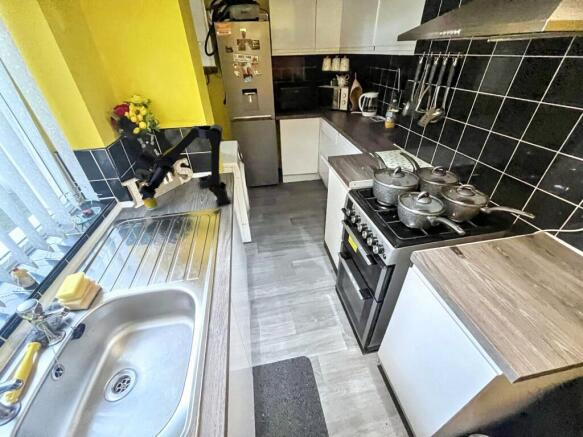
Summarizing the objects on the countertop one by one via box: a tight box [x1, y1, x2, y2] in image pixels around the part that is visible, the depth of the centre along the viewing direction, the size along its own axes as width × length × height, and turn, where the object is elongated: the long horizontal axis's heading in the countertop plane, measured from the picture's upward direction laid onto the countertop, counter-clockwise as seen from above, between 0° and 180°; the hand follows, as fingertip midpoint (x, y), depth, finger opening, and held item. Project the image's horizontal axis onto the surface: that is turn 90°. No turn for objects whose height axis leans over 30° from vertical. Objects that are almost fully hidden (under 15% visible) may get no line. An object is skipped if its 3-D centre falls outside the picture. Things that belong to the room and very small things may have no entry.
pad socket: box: [198, 174, 209, 189], centre depth 147 cm, size 8×8×4 cm
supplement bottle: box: [141, 194, 159, 211], centre depth 123 cm, size 5×5×10 cm
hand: (144, 196), depth 122 cm, fingers closed on supplement bottle, 5 cm apart
